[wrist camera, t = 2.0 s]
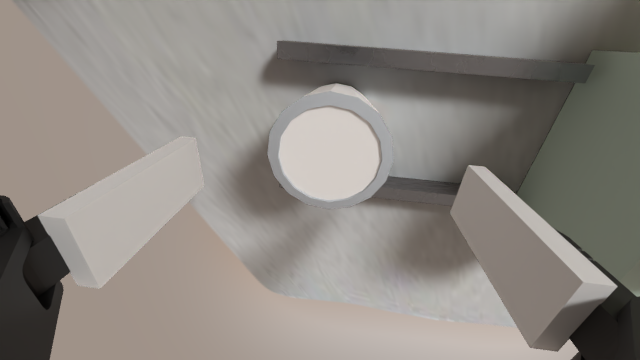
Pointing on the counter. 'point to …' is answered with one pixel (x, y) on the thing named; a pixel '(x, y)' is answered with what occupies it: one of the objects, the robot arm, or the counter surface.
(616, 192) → the end cabinet
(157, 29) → the counter surface
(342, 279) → the counter surface
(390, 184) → the guide rails
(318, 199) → the white tapered cup
